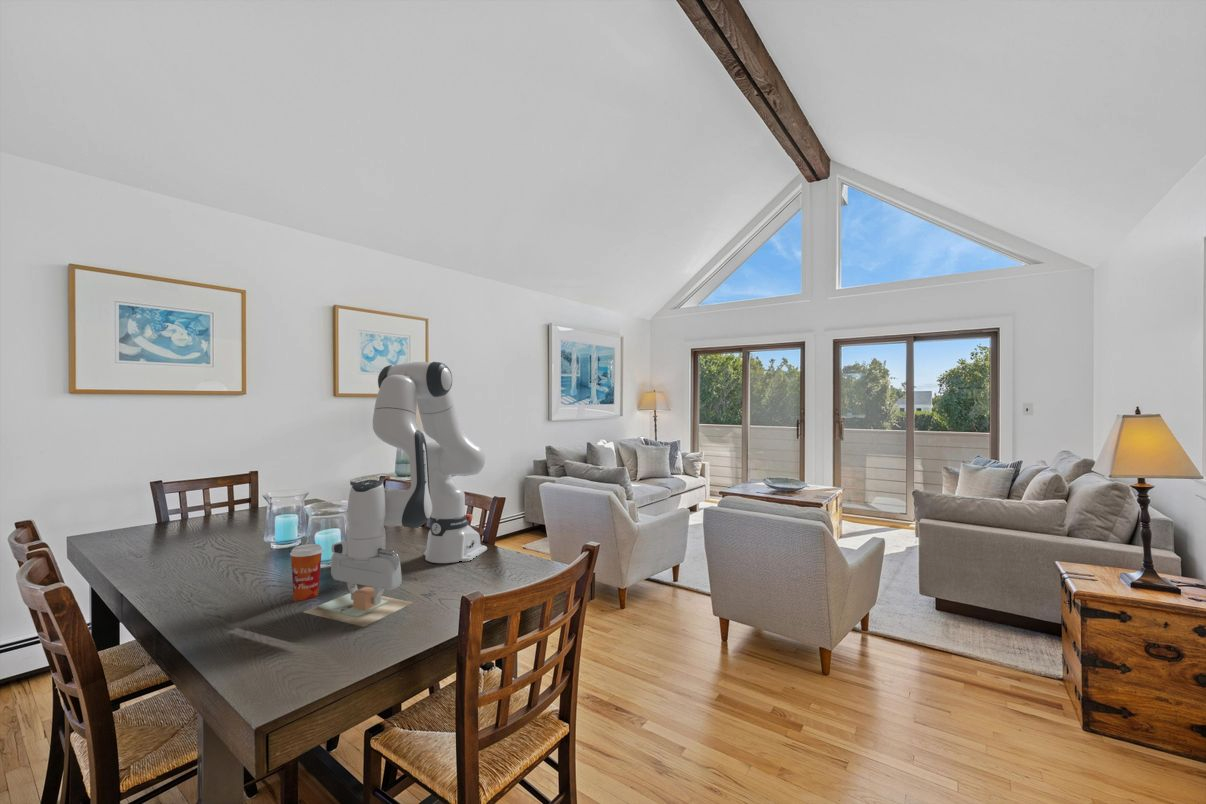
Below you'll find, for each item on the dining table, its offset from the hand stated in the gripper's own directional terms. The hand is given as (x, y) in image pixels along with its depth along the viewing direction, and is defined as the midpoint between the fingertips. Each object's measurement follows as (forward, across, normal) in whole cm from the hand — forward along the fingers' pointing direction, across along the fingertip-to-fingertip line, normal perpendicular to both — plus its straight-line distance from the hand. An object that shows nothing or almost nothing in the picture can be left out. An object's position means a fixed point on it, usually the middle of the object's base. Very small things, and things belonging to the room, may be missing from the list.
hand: (365, 601), depth 132 cm
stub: (+2, 0, 0) cm, 2 cm away
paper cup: (+3, +21, 0) cm, 21 cm away
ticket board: (+3, +2, 0) cm, 4 cm away
